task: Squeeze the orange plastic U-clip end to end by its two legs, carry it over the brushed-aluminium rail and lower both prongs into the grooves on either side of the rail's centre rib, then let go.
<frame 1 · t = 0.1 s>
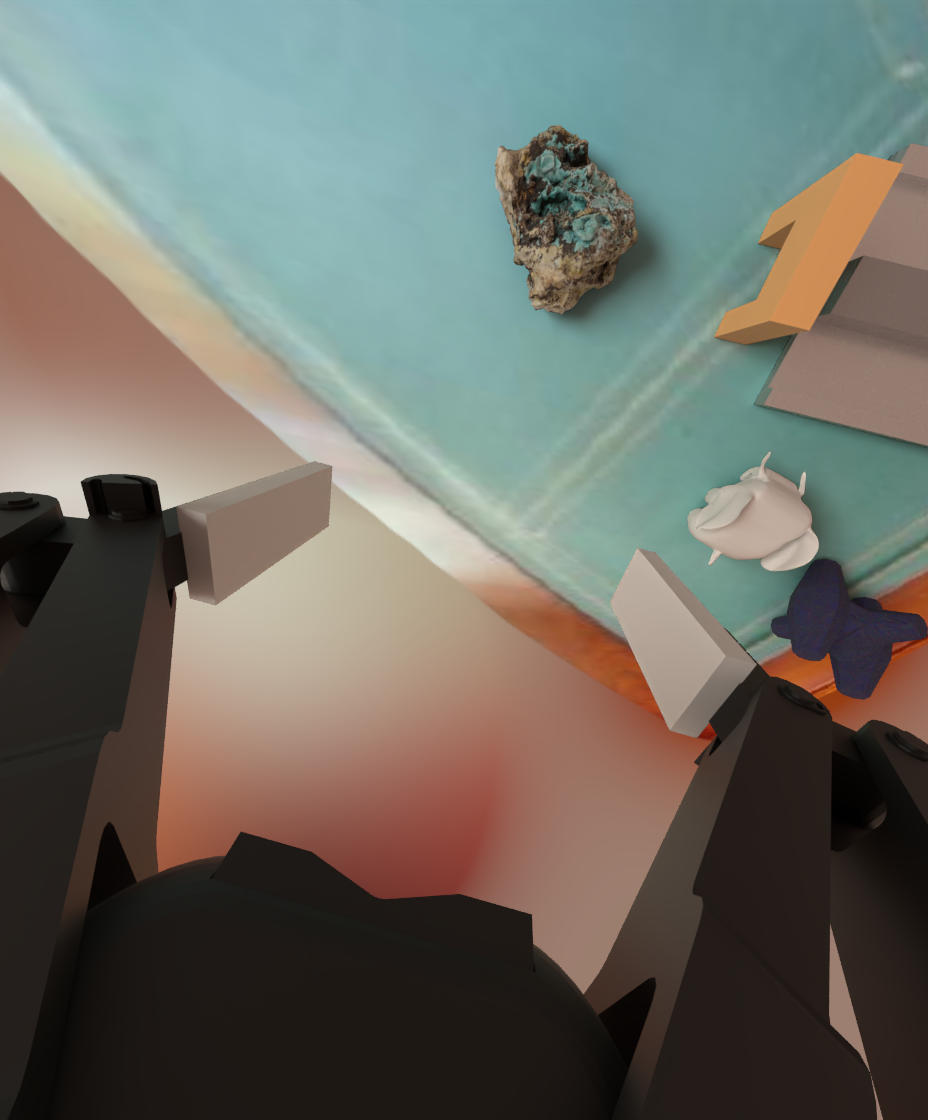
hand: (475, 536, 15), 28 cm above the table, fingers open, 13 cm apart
rail: (913, 320, 31), on the table
clip: (757, 283, 31), on the table
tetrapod: (804, 602, 43), on the table
mineral specimen: (551, 234, 32), on the table
elephant figurine: (726, 504, 39), on the table
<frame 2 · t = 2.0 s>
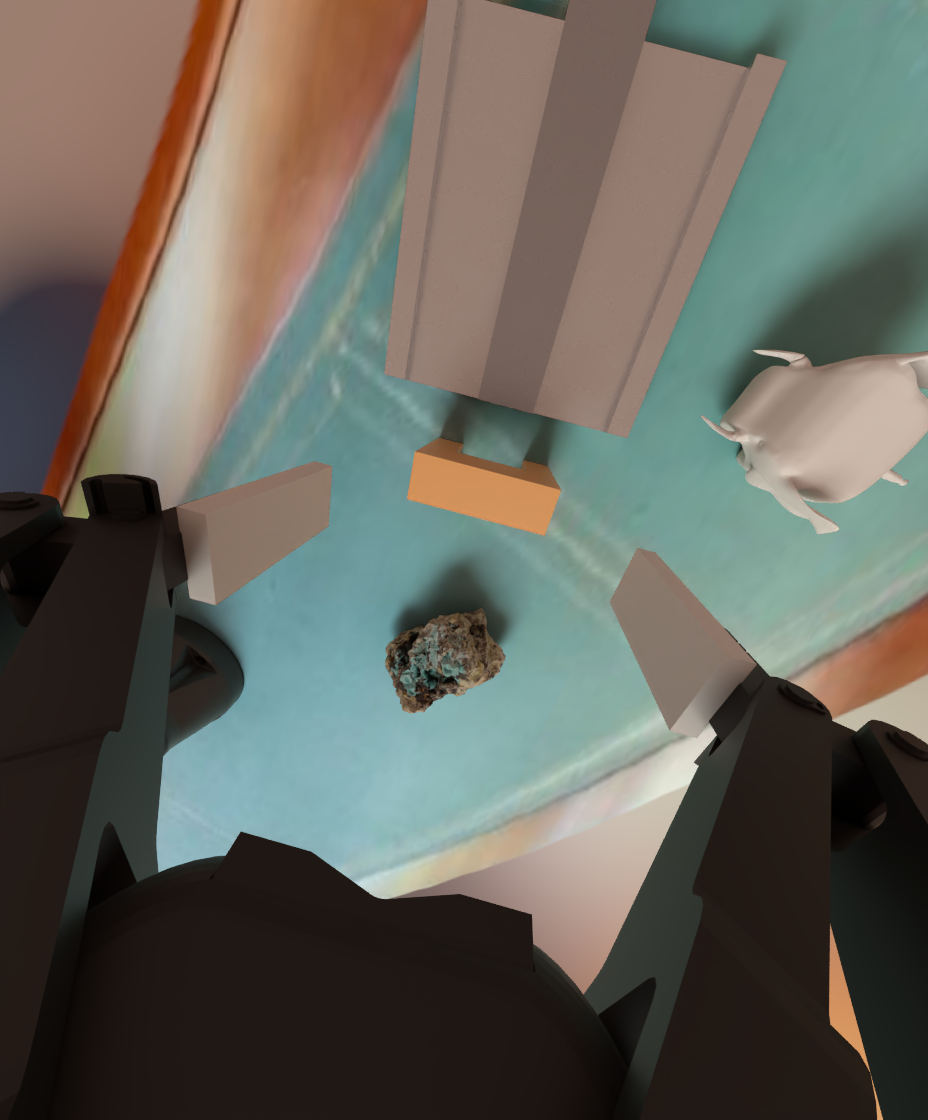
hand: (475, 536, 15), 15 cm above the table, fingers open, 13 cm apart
rail: (545, 257, 22), on the table
clip: (488, 470, 28), on the table
mineral specimen: (443, 642, 37), on the table
elephant figurine: (770, 428, 25), on the table
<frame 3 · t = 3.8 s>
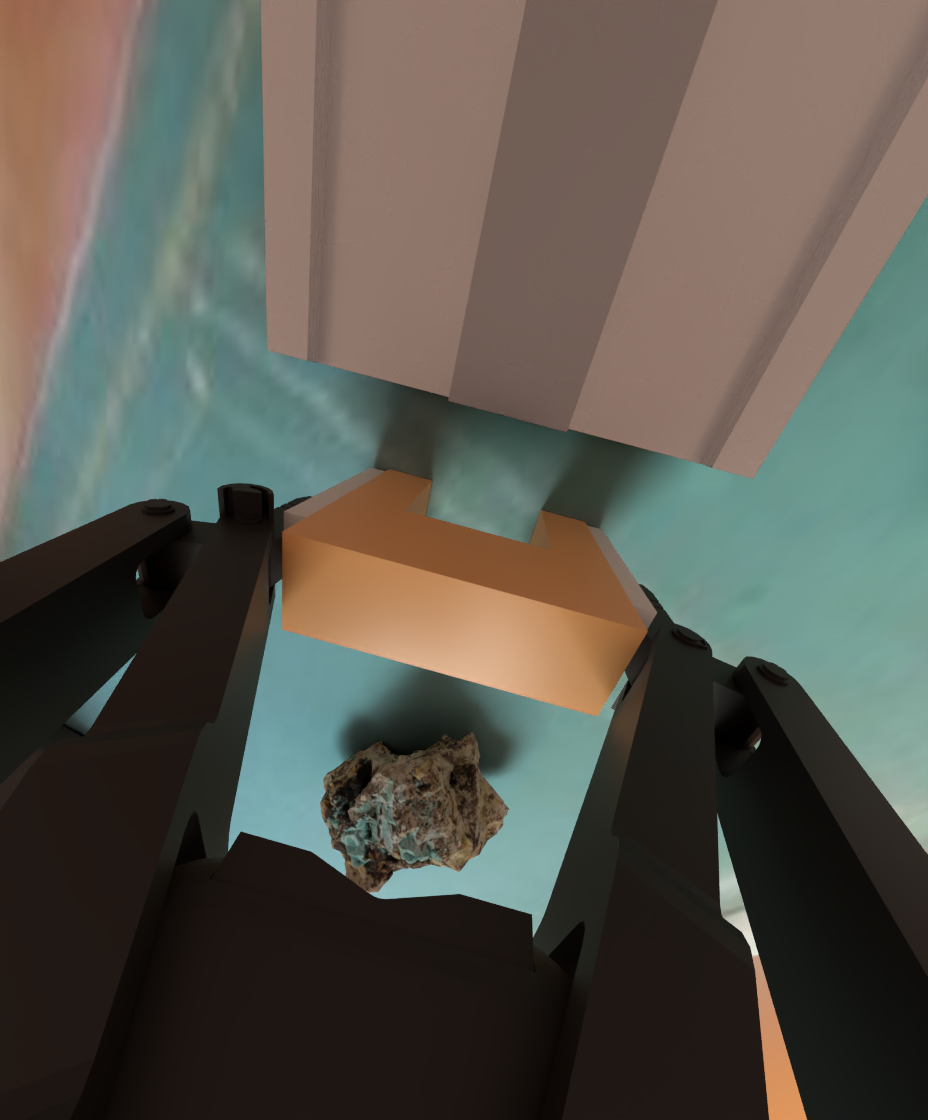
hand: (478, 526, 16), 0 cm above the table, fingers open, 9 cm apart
rail: (598, 78, 10), on the table
clip: (478, 526, 16), on the table, touching gripper
mineral specimen: (414, 762, 24), on the table
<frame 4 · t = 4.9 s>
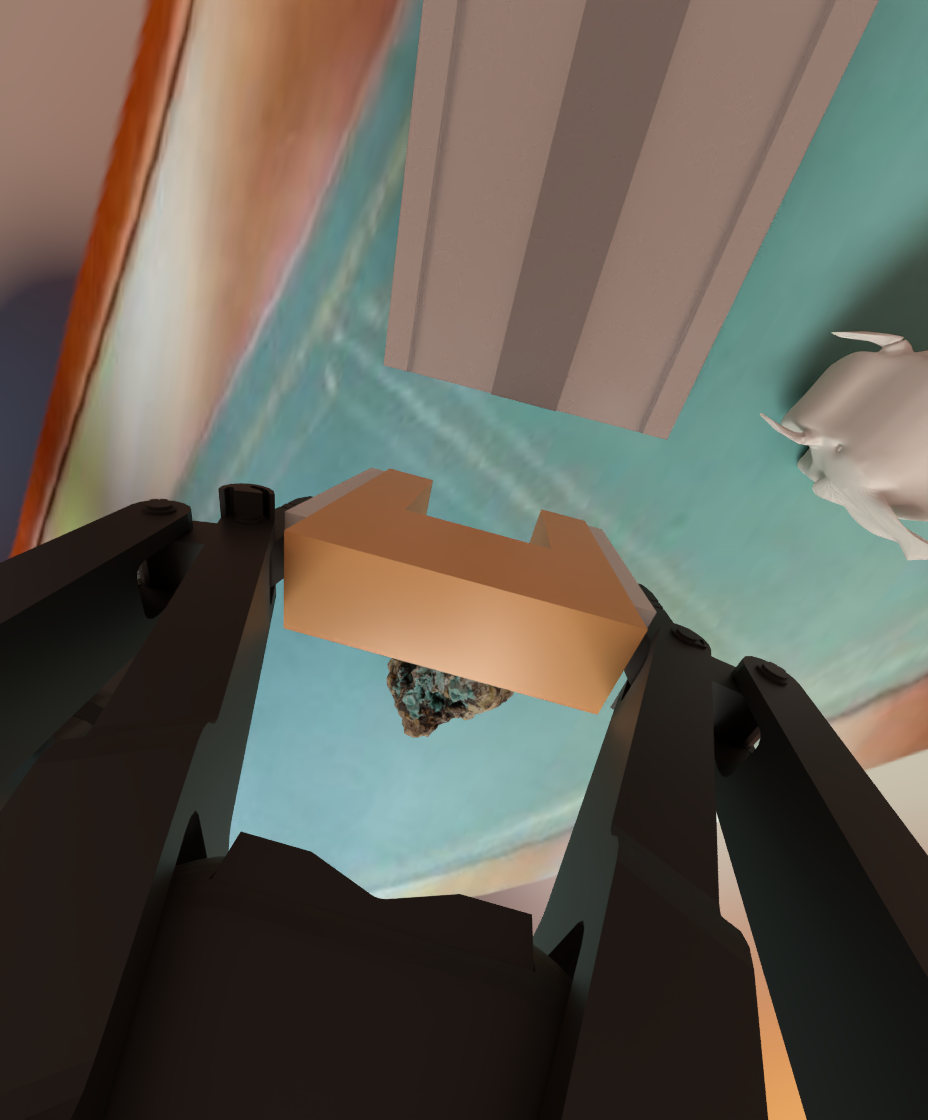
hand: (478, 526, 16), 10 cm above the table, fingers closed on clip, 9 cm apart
rail: (574, 222, 19), on the table
clip: (478, 525, 16), point 10 cm above the table, touching gripper
mineral specimen: (451, 658, 34), on the table
elephant figurine: (841, 428, 21), on the table
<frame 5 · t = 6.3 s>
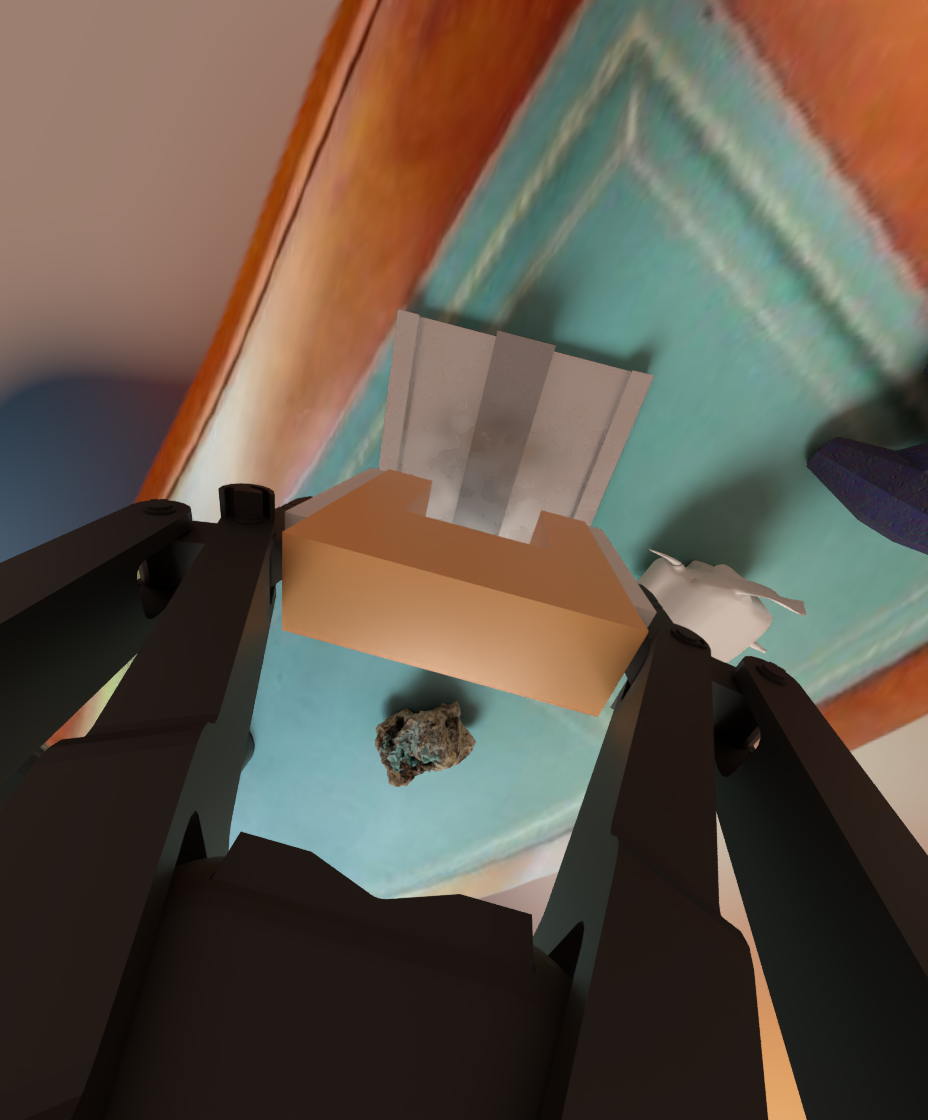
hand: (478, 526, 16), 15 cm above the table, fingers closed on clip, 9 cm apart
rail: (491, 468, 29), on the table
clip: (478, 526, 16), point 14 cm above the table, touching gripper
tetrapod: (900, 444, 25), on the table
mineral specimen: (425, 720, 43), on the table
elephant figurine: (676, 585, 32), on the table
when the fingers open (2 cm above the table, at t = 8.3 s): clip drops 1 cm, resting on rail.
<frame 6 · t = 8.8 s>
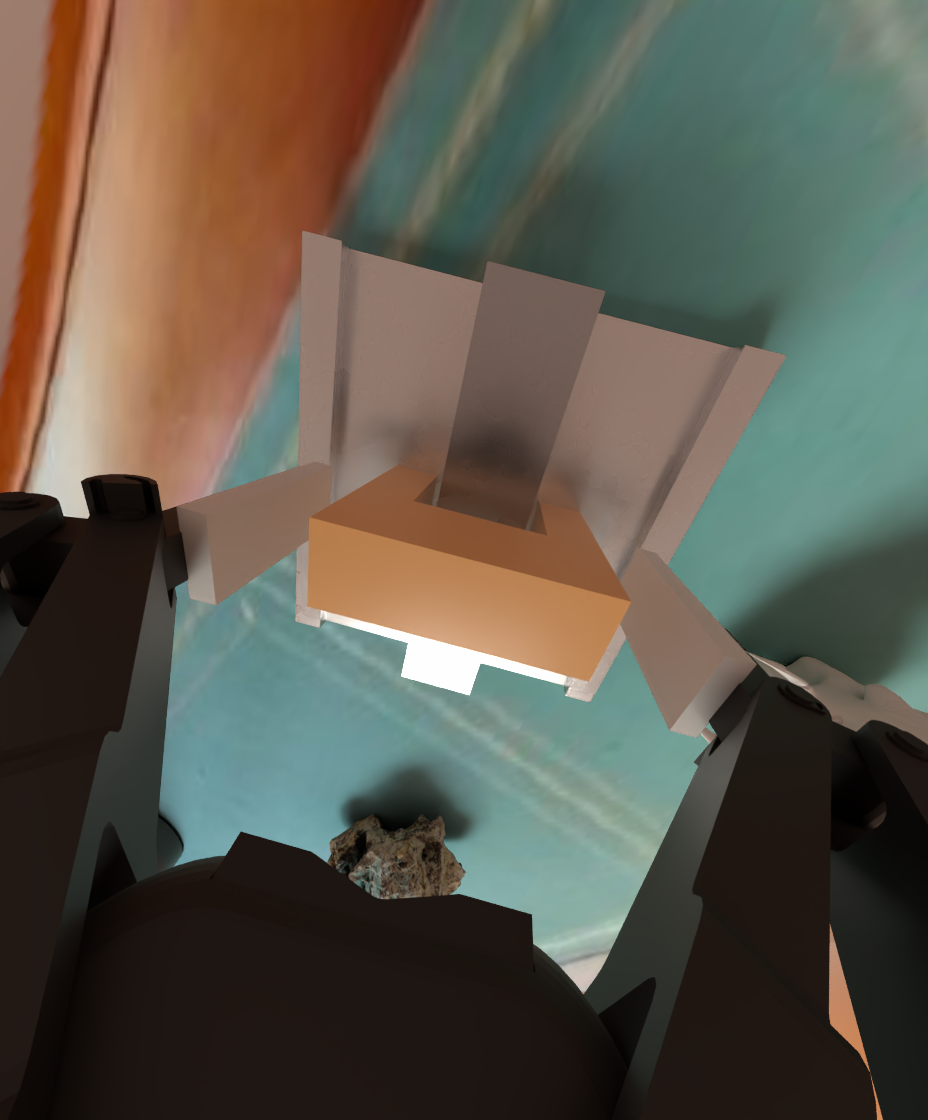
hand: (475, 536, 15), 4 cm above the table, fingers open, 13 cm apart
rail: (482, 511, 18), on the table
clip: (480, 517, 17), point 1 cm above the table, touching rail
mineral specimen: (398, 827, 32), on the table
elephant figurine: (767, 687, 21), on the table
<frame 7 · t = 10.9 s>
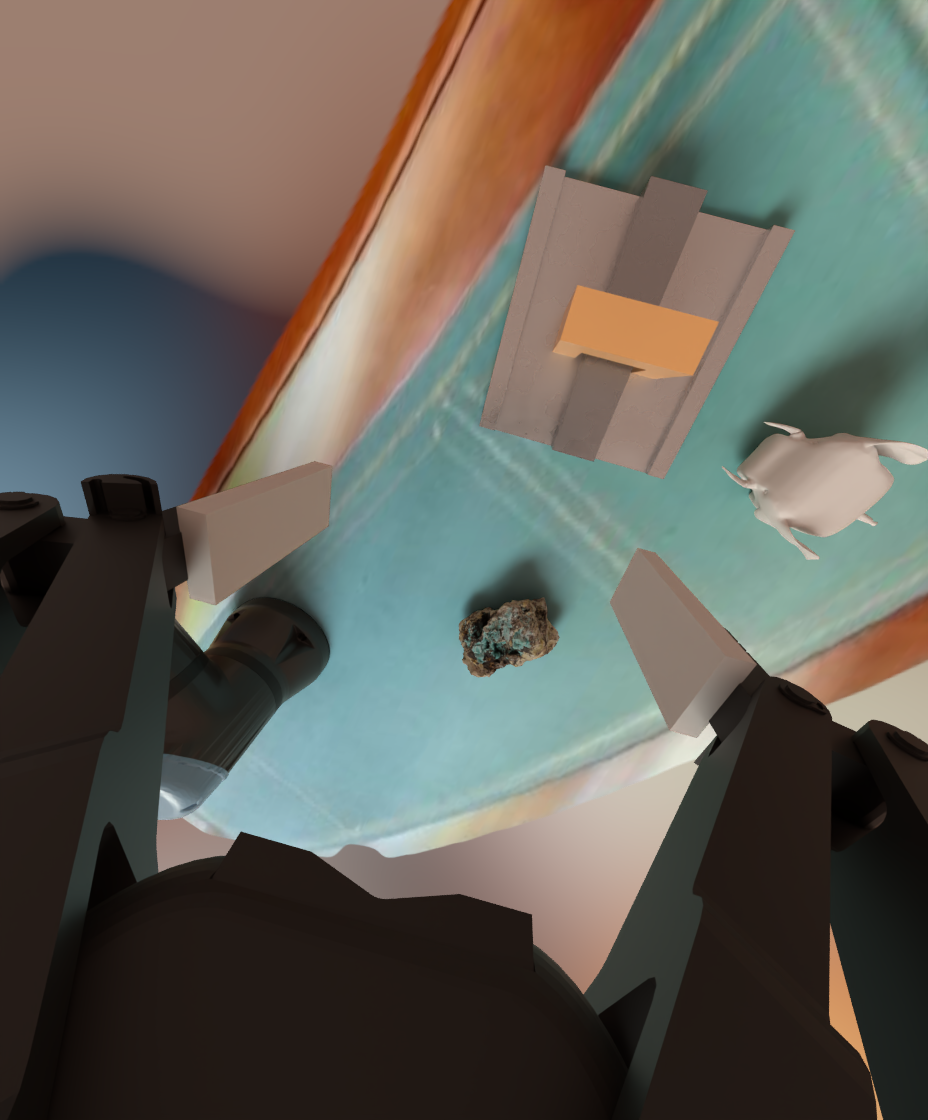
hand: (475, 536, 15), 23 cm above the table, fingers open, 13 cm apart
rail: (608, 345, 30), on the table
clip: (610, 345, 29), point 1 cm above the table, touching rail
mineral specimen: (504, 622, 45), on the table
elephant figurine: (777, 473, 32), on the table
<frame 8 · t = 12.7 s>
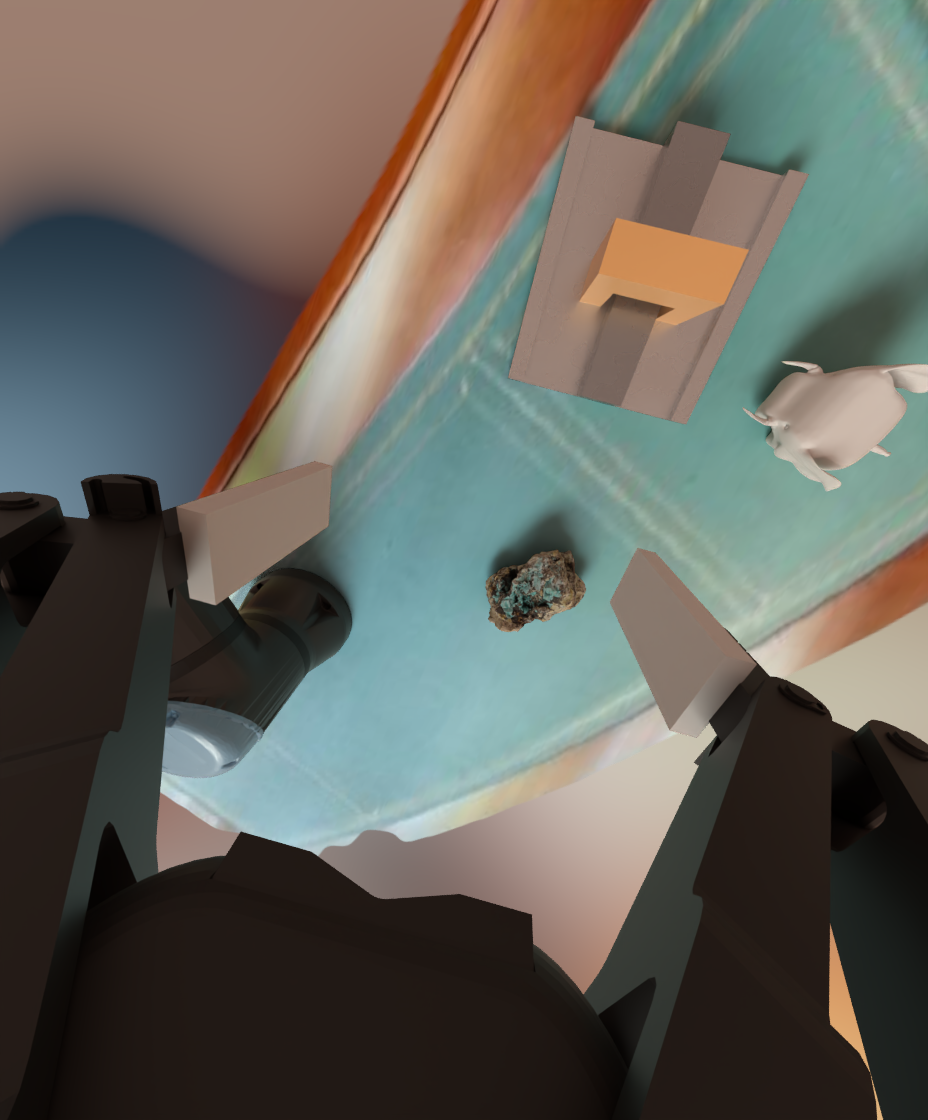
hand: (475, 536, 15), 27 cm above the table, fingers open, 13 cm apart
rail: (632, 294, 32), on the table
clip: (634, 293, 31), point 1 cm above the table, touching rail
mineral specimen: (529, 581, 46), on the table
elephant figurine: (791, 417, 34), on the table
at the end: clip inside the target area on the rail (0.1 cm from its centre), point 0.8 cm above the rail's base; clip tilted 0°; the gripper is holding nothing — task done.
